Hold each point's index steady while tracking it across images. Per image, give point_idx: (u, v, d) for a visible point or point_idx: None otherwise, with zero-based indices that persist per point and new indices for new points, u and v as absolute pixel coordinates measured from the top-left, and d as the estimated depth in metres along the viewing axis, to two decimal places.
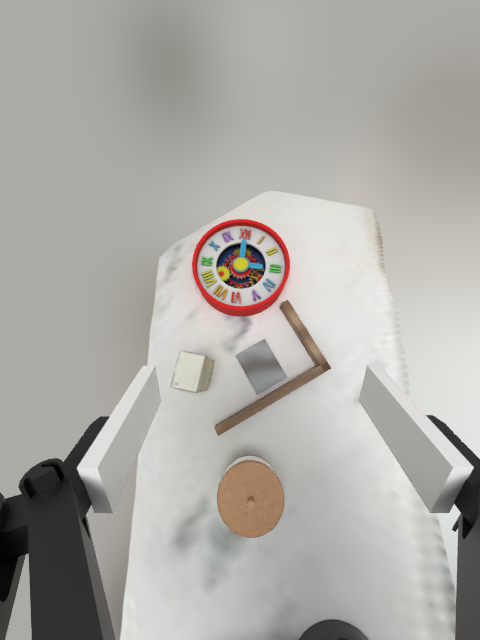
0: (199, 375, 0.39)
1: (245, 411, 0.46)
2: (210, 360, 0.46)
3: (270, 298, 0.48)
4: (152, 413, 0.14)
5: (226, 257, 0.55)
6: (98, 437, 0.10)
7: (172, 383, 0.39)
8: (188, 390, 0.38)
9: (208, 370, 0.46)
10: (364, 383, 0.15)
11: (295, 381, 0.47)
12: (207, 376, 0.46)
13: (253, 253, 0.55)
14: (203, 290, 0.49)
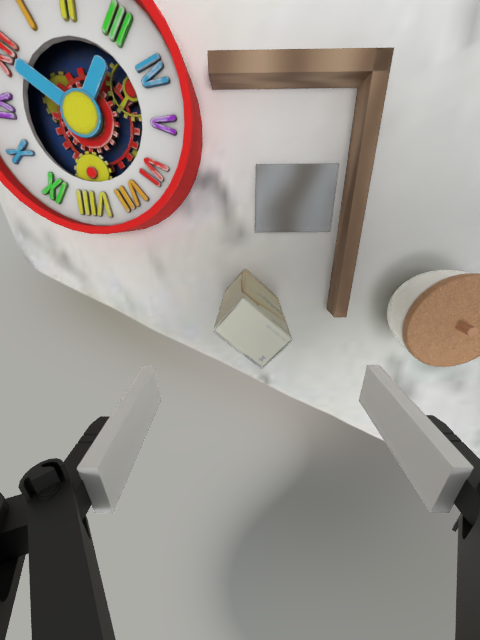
0: (270, 321, 0.21)
1: (344, 265, 0.28)
2: (246, 280, 0.27)
3: (186, 89, 0.20)
4: (152, 413, 0.14)
5: (61, 142, 0.26)
6: (98, 437, 0.10)
7: (257, 363, 0.23)
8: (282, 347, 0.22)
9: (259, 290, 0.27)
10: (364, 383, 0.15)
11: (362, 150, 0.24)
12: (266, 295, 0.28)
13: (66, 68, 0.23)
14: (115, 228, 0.24)
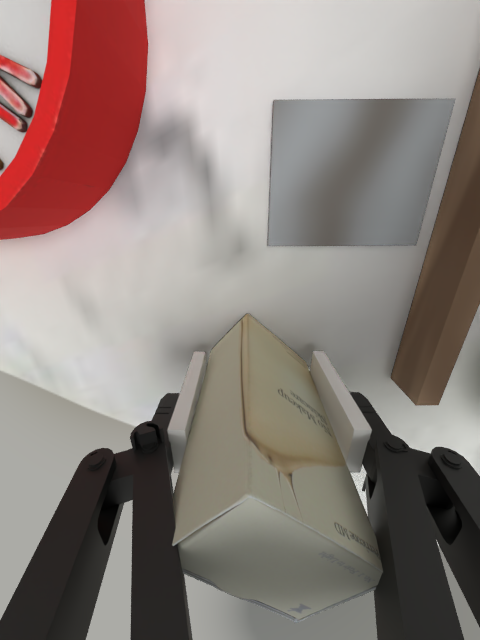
0: (333, 543, 0.07)
1: (453, 315, 0.14)
2: (252, 356, 0.12)
3: None
4: None
5: None
6: (176, 407, 0.12)
7: (286, 614, 0.08)
8: (360, 591, 0.08)
9: (278, 372, 0.13)
10: (311, 367, 0.17)
11: None
12: (291, 377, 0.14)
13: None
14: None
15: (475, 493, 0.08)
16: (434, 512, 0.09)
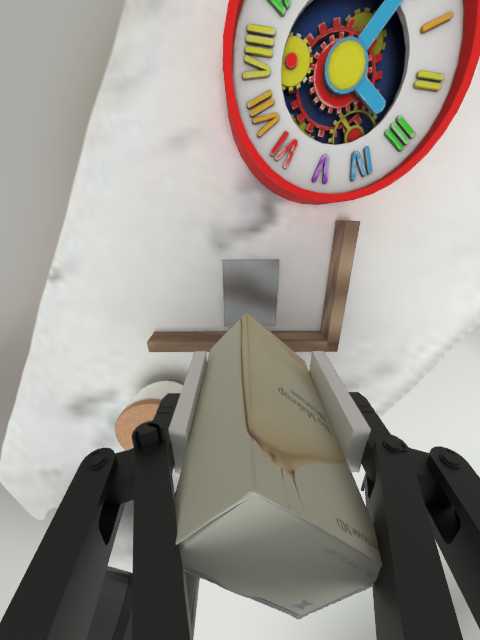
0: (335, 539, 0.07)
1: (196, 343, 0.32)
2: (252, 355, 0.12)
3: (342, 197, 0.23)
4: None
5: (326, 19, 0.22)
6: (177, 407, 0.12)
7: (289, 611, 0.09)
8: (362, 586, 0.08)
9: (278, 371, 0.13)
10: (310, 367, 0.17)
11: None
12: (291, 376, 0.14)
13: (385, 55, 0.22)
14: (229, 81, 0.20)
15: (474, 493, 0.08)
16: (433, 511, 0.09)
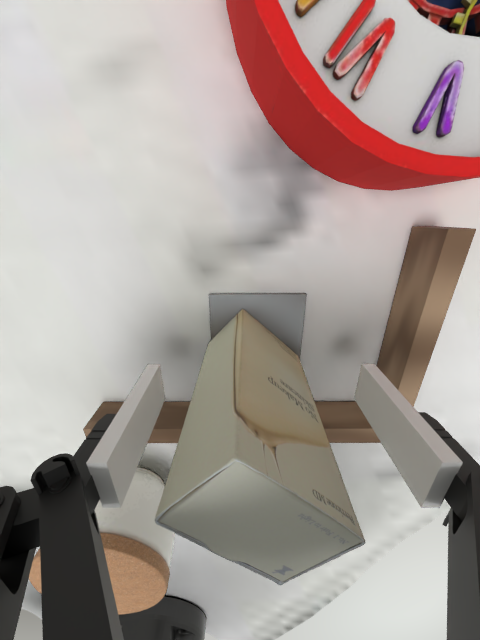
0: (310, 506, 0.08)
1: (166, 431, 0.19)
2: (245, 347, 0.13)
3: None
4: (157, 411, 0.15)
5: None
6: (106, 433, 0.10)
7: (271, 576, 0.09)
8: (336, 553, 0.09)
9: (269, 362, 0.14)
10: (359, 381, 0.15)
11: None
12: (282, 368, 0.15)
13: None
14: None
15: None
16: None
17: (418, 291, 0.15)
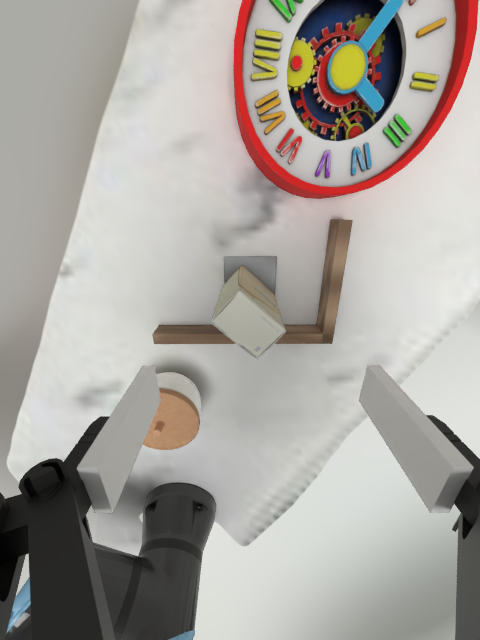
0: (265, 313, 0.22)
1: (199, 336, 0.34)
2: (243, 275, 0.28)
3: (344, 191, 0.24)
4: (152, 413, 0.14)
5: (329, 24, 0.23)
6: (98, 437, 0.10)
7: (253, 354, 0.24)
8: (276, 338, 0.23)
9: (255, 285, 0.28)
10: (364, 383, 0.15)
11: None
12: (261, 289, 0.29)
13: (384, 57, 0.24)
14: (239, 82, 0.21)
15: None
16: None
17: (332, 252, 0.30)
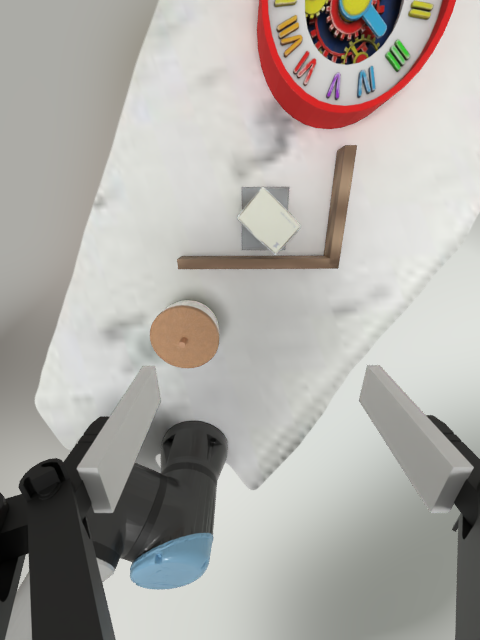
0: (283, 209, 0.26)
1: (219, 261, 0.38)
2: None
3: (351, 109, 0.28)
4: (152, 413, 0.14)
5: None
6: (98, 437, 0.10)
7: (272, 250, 0.28)
8: (293, 234, 0.27)
9: None
10: (364, 383, 0.15)
11: (291, 260, 0.38)
12: None
13: None
14: (264, 5, 0.25)
15: None
16: None
17: (338, 179, 0.34)
